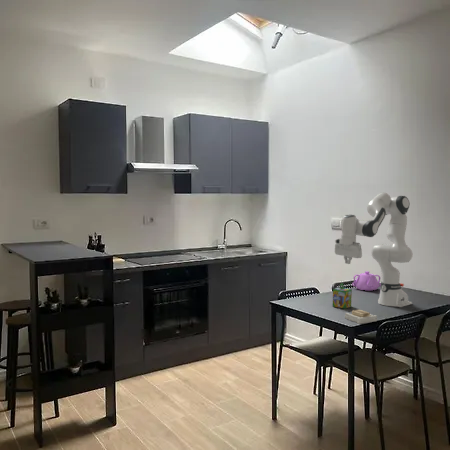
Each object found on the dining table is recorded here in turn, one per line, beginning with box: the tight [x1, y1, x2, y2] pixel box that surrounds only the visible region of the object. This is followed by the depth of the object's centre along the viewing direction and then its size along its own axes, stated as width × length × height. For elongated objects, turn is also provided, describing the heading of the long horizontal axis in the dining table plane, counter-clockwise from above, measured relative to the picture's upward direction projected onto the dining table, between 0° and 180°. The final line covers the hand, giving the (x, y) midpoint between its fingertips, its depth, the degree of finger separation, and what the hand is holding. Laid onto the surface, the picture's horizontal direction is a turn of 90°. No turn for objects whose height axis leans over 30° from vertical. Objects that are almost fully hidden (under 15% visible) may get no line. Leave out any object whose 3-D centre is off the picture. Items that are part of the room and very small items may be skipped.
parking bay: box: [344, 312, 378, 325], centre depth 263 cm, size 14×12×3 cm
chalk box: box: [332, 283, 353, 310], centre depth 293 cm, size 9×9×15 cm
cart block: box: [351, 309, 371, 317], centre depth 262 cm, size 6×8×5 cm
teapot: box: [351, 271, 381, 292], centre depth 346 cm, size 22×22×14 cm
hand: (347, 263), depth 282 cm, fingers closed
